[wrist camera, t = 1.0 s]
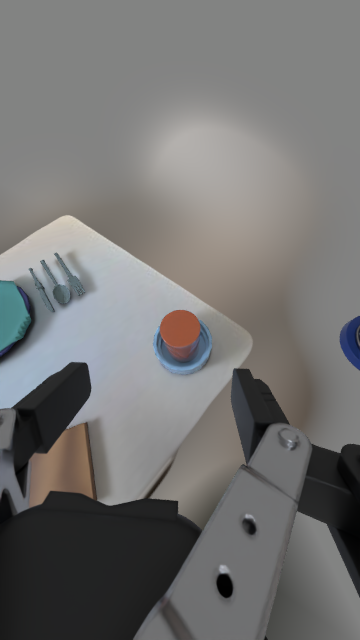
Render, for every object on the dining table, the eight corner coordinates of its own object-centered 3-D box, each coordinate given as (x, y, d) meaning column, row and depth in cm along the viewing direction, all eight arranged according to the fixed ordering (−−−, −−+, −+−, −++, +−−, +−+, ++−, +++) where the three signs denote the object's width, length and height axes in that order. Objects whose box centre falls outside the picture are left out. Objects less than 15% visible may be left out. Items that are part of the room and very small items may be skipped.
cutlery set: (-70, 321, 42) (-84, 316, 40) (59, 251, 49) (53, 243, 46) (-57, 400, 34) (-73, 399, 32) (95, 305, 41) (90, 299, 39)
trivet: (87, 422, 31) (83, 422, 30) (97, 500, 27) (93, 503, 26) (-17, 463, 30) (-24, 464, 29) (-24, 552, 26) (-32, 556, 25)
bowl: (217, 334, 36) (219, 325, 33) (199, 384, 33) (199, 380, 29) (170, 317, 38) (168, 307, 35) (148, 363, 35) (143, 357, 31)
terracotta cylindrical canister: (204, 338, 35) (206, 317, 27) (192, 368, 33) (191, 353, 25) (175, 328, 36) (169, 304, 29) (162, 355, 34) (152, 338, 27)
